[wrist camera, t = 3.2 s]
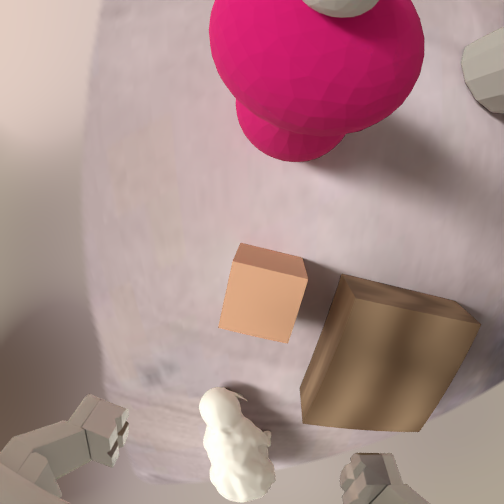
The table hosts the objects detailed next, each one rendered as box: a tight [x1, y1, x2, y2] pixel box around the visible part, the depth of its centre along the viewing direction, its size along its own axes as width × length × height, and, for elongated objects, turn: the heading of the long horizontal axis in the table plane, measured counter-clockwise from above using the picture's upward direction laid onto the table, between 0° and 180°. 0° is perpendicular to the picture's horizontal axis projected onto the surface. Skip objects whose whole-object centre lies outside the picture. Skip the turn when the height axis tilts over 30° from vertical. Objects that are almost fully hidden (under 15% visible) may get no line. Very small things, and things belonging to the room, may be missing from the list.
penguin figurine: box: [199, 387, 275, 503], centre depth 27 cm, size 6×8×12 cm
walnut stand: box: [300, 274, 481, 432], centre depth 25 cm, size 12×12×5 cm
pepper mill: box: [209, 0, 424, 162], centre depth 13 cm, size 7×7×20 cm
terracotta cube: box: [218, 243, 308, 344], centre depth 24 cm, size 5×5×5 cm
